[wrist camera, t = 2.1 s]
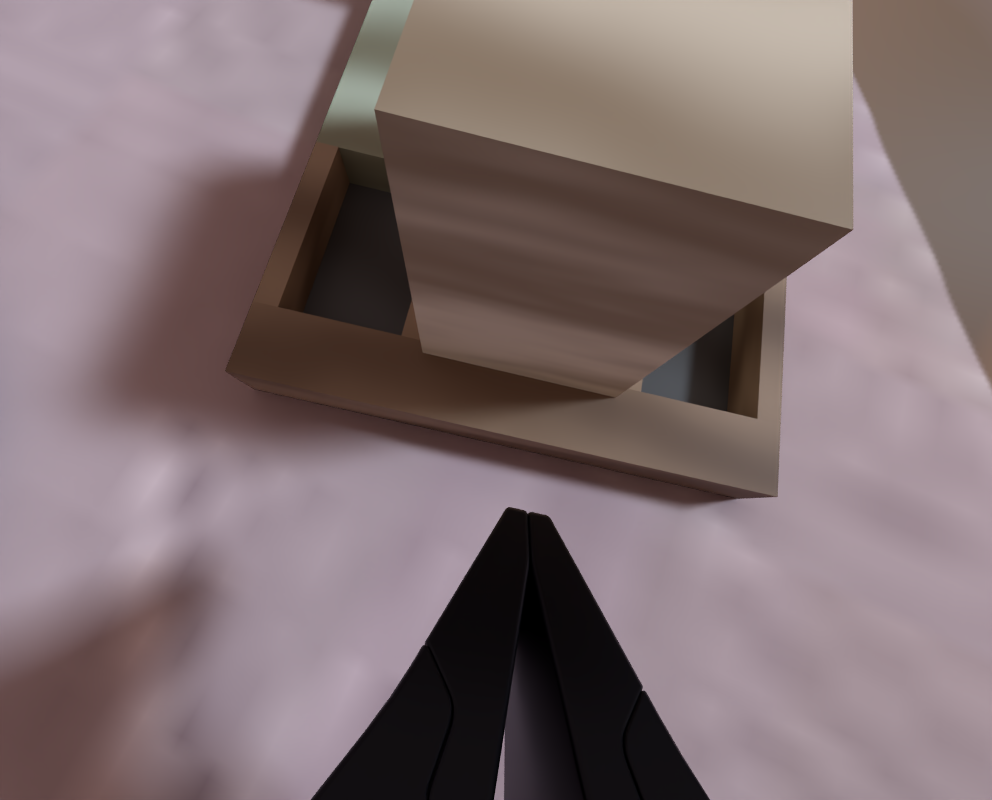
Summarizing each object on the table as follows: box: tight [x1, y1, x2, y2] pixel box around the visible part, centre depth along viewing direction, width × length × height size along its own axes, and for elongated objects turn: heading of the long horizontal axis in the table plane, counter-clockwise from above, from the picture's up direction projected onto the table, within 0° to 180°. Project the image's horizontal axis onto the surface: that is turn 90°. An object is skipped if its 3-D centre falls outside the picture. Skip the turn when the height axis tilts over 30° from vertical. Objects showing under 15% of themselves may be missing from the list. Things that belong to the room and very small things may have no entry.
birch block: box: [374, 0, 853, 397], centre depth 14 cm, size 12×8×11 cm, turn 168°
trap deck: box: [225, 0, 787, 499], centre depth 20 cm, size 25×22×6 cm
